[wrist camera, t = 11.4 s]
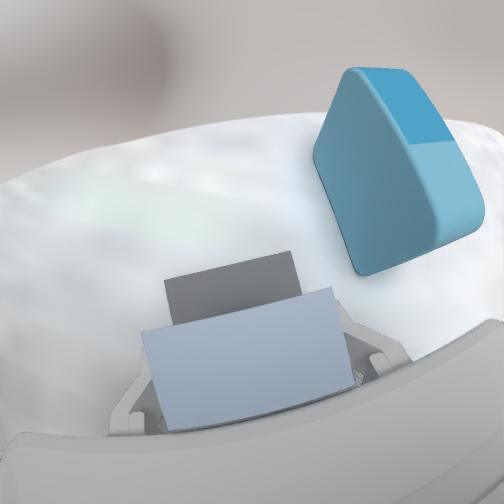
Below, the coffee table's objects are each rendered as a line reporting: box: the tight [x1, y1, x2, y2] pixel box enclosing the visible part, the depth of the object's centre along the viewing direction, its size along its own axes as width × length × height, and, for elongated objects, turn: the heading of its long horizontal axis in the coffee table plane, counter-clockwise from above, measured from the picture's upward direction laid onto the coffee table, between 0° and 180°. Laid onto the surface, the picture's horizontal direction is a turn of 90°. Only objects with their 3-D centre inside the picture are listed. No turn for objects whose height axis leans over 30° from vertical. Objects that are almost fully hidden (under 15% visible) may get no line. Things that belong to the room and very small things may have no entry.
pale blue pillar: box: [141, 287, 355, 431], centre depth 14 cm, size 6×3×13 cm, turn 104°
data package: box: [313, 67, 485, 276], centre depth 19 cm, size 12×4×12 cm, turn 16°
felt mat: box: [164, 251, 302, 326], centre depth 21 cm, size 10×11×1 cm
